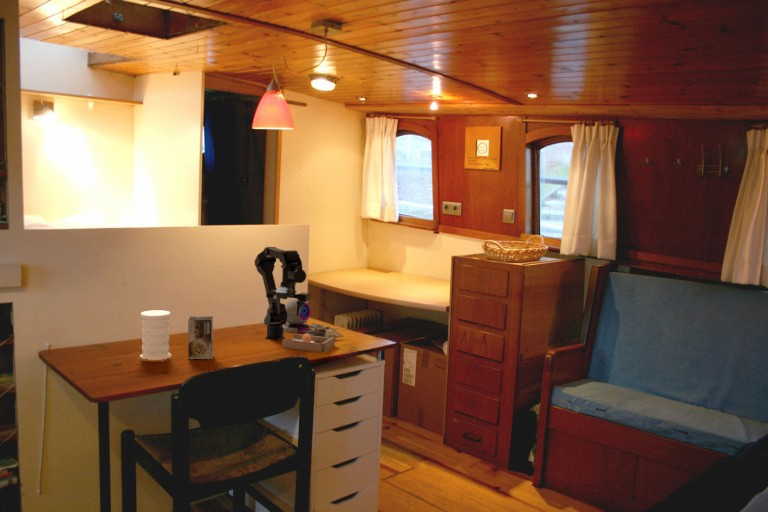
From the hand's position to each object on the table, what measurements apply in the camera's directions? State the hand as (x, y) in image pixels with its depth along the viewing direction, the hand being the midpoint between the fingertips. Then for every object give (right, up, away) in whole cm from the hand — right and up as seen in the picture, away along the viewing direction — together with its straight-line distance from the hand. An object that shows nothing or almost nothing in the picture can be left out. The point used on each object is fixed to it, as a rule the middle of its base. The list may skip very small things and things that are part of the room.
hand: (287, 314), depth 284 cm
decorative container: (-48, -15, -28) cm, 57 cm away
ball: (+8, -10, -2) cm, 13 cm away
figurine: (+15, -12, +16) cm, 25 cm away
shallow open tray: (+9, -14, -2) cm, 16 cm away
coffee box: (-31, -15, -25) cm, 42 cm away
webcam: (-1, -10, +30) cm, 32 cm away
